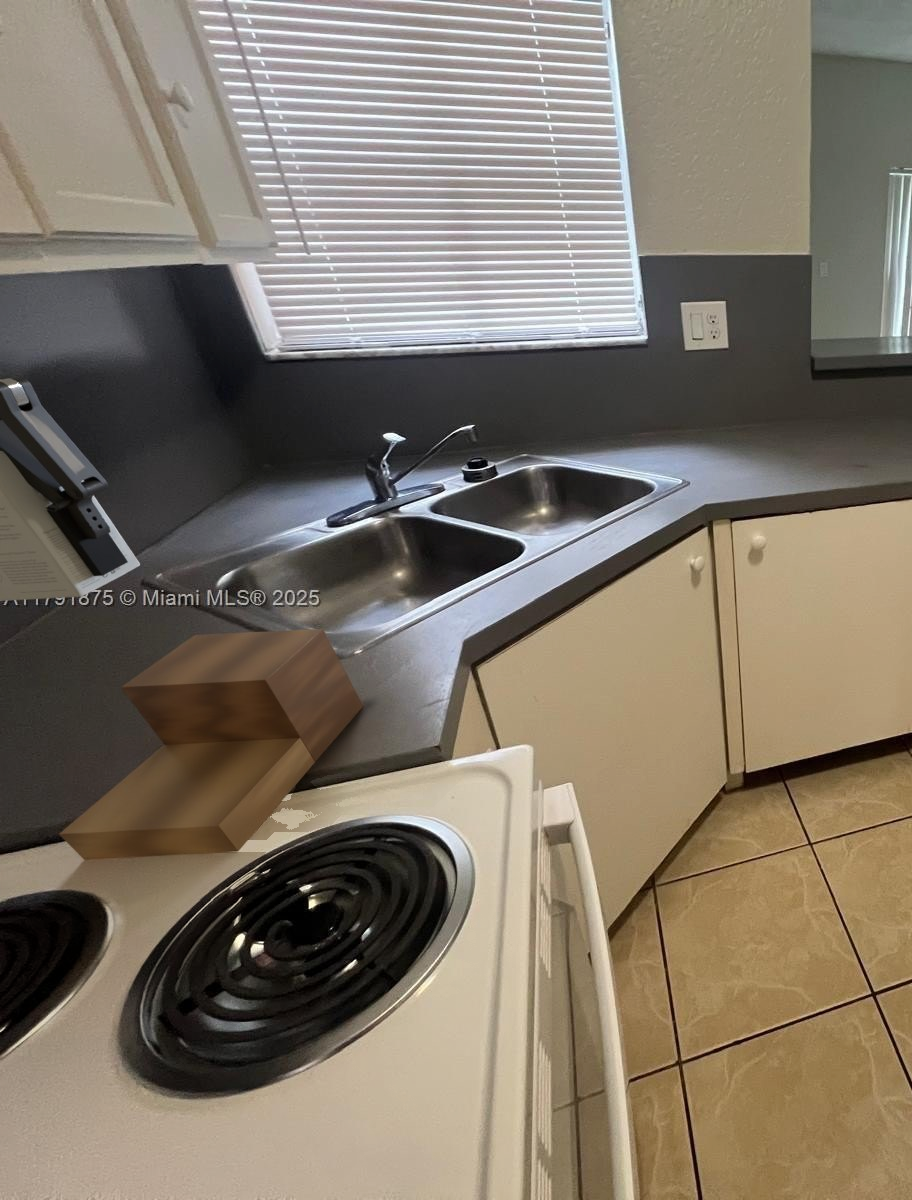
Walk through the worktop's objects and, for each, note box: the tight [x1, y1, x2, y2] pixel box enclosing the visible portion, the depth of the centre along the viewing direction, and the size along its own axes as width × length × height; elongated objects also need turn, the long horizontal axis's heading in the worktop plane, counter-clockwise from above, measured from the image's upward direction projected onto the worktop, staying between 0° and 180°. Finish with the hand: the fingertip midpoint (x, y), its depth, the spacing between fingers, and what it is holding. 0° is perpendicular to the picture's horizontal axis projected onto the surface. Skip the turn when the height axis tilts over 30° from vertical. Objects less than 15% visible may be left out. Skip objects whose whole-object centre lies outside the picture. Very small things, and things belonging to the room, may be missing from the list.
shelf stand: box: [58, 628, 364, 860], centre depth 62 cm, size 14×20×11 cm
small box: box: [0, 451, 141, 602], centre depth 56 cm, size 8×6×13 cm
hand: (63, 571), depth 59 cm, fingers closed on small box, 8 cm apart
